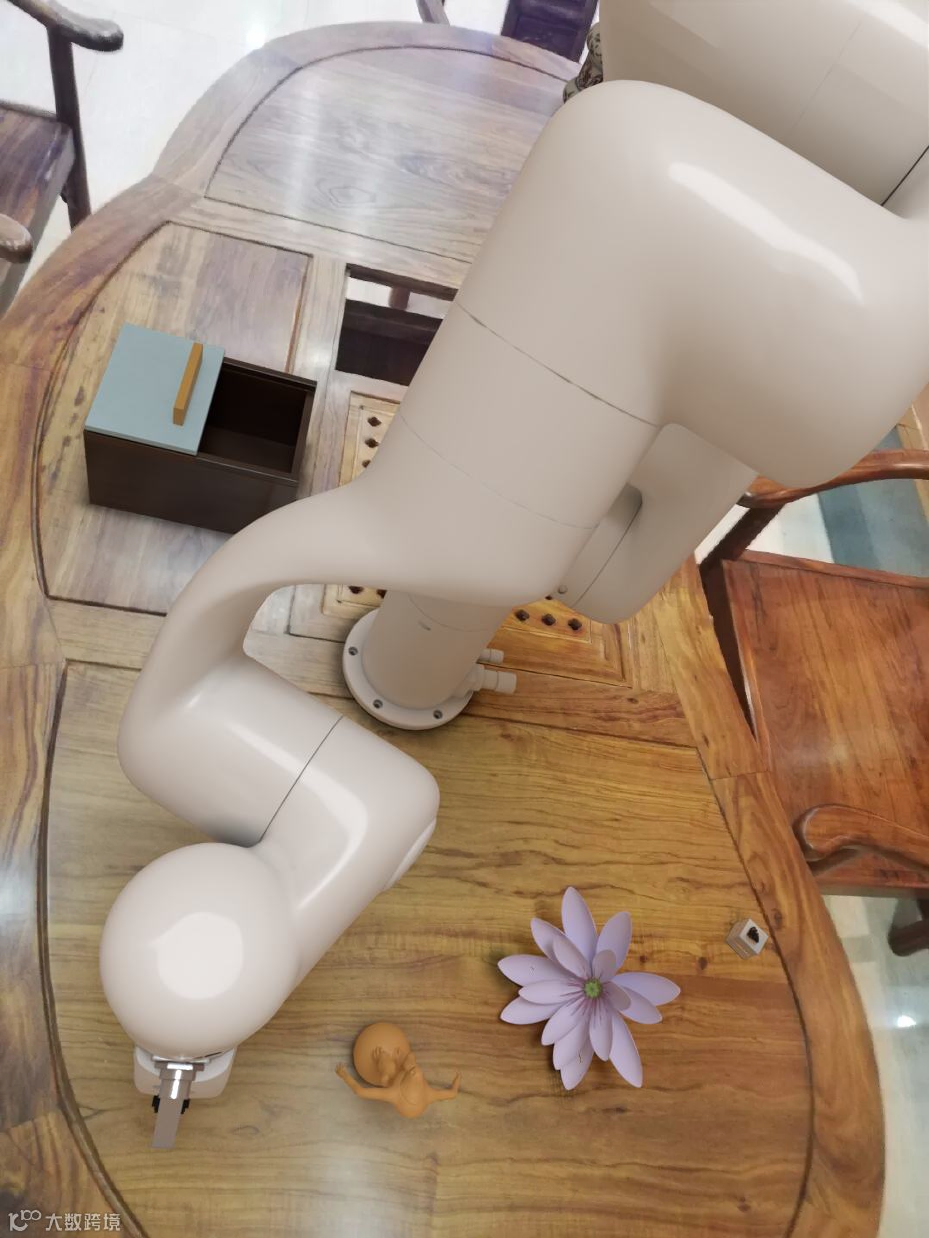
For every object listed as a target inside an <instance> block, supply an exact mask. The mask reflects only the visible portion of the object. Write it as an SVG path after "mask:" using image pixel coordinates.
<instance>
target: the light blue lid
mask: <svg viewBox="0 0 929 1238" xmlns="http://www.w3.org/2000/svg"><path fill="white" fill-rule="evenodd" d="M225 355H226V348H222V347H220V346H217V345H213V344H208V343H204V342H200V341H197V340H194V339H190V338H186V337H182V336H179V335H175V334H171V333H167V332H164V331H160V330H156V329H153V328H149V327H145V326H141V325H137V324H133V323H130V322H125V321H124V322H123V324H122V327H121V329H120V332H119V334H118V336H117V340H116V342H115V345H114V347H113V350H112V352H111V355H110V358H109V360H108V362H107V365H106V368H105V370H104V373H103V375H102V378H101V381H100V384H99V386H98V387H97V388H98V389H97V391H96V393H95V396H94V399H93V402H92V404H91V406H90V408H89V409H90V410H89V412H88V414H87V417H86V419H85V422H84V428H85V429H86V430H90V431H94V432H98V433H103V434H107V435H111V436H115V437H120V438H124V439H128V440H132V441H137V442H141V443H145V444H149V445H154V446H158V447H162V448H166V449H171V450H175V451H179V452H183V453H187V454H192V455H196V454H197V451H198V447H199V444H200V440H201V437H202V433H203V430H204V426H205V422H206V419H207V415H208V412H209V408H210V405H211V401H212V398H213V394H214V390H215V387H216V383H217V380H218V376H219V373H220V369H221V365H222V362H223V358H224V357H225Z"/></svg>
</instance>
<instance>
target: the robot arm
mask: <svg viewBox="0 0 929 1238" xmlns="http://www.w3.org/2000/svg"><path fill="white" fill-rule="evenodd" d="M598 22H599V32H600V42H601V51H602V64H603V82H602V83H599V84H597V85H594V86H591V87H589V88H586V89H584V90H582V91H581V92H579V93H578V94H576V95H575V96H573V97H572V98H570V99H569V100H568V101H567V102H566V103H565V104H564V103H563V104H562V106H560V108H559V109H558V110H556V112H554V114H553V115H552V116H551V118H550V119H549V120H548V122H547V123H546V125H545V126H544V127H543V129H542V130H541V131H540V133H539V135H538V136H537V138H536V139H535V141H534V143H533V145H532V147H531V149H530V151H529V152H528V155H527V156H526V158H525V159H524V162H523V164H522V165H521V167H520V169H519V171H518V173H517V174H516V177H515V179H514V181H513V183H512V185H511V187H510V189H509V191H508V192H507V195H506V196H505V199H504V200H503V202H502V204H501V206H500V207H499V210H498V212H497V214H496V216H495V218H494V219H493V221H492V223H491V225H490V228H489V229H488V232H487V233H486V235H485V237H484V239H483V241H482V242H481V244H480V246H479V249H478V251H477V252H476V255H475V257H474V259H473V260H472V263H471V264H470V266H469V268H468V270H467V272H466V274H465V276H464V279H463V280H462V282H461V284H460V285H459V287H458V290H457V291H456V294H455V296H454V298H453V300H452V301H451V303H450V305H449V307H448V310H447V312H446V314H445V315H444V316H443V319H442V321H441V323H440V324H439V327H438V329H437V331H436V333H435V335H434V337H433V338H432V340H431V343H430V344H429V346H428V348H427V350H426V352H425V354H424V356H423V358H422V360H421V362H420V364H419V366H418V368H417V370H416V372H415V374H414V375H413V377H412V379H411V381H410V383H409V385H408V387H407V389H406V391H405V393H404V395H403V397H402V398H401V401H400V402H399V404H398V407H397V409H396V411H395V413H394V415H393V416H392V418H391V421H390V423H389V424H388V427H387V429H386V431H385V433H384V435H383V437H382V438H381V441H380V443H379V444H378V447H377V449H376V451H375V453H374V455H373V456H372V458H371V460H370V462H369V463H368V464H367V465H366V467H365V469H363V471H362V472H361V473H360V474H359V475H358V476H357V477H356V478H353V480H351V481H349V482H348V483H345V484H343V485H341V486H337V487H335V488H331V489H328V490H326V491H325V490H324V491H322V492H319V493H317V494H313V495H310V496H307V497H304V498H301V499H298V500H296V501H295V500H294V502H293V503H290V504H288V505H286V506H283V507H281V508H279V509H277V510H274V511H272V512H270V513H268V514H267V515H265V516H263V517H261V518H259V519H257V520H256V521H254V522H253V523H251V524H250V525H248V526H247V527H245V528H244V529H242V530H241V531H239V532H238V533H237V534H233V535H232V536H231V537H230V538H229V539H228V540H227V541H226V542H224V543H223V544H222V545H221V546H220V547H219V548H217V549H216V550H215V551H213V553H212V554H211V555H210V556H209V558H208V559H206V561H205V562H204V563H203V564H202V565H201V566H200V567H199V568H198V569H197V570H196V571H195V573H194V574H193V575H192V577H190V579H189V581H188V582H187V583H186V584H185V586H184V587H183V589H182V590H181V591H180V593H179V594H178V596H177V597H176V599H175V600H174V602H173V603H172V604H171V606H170V608H169V609H168V611H167V613H166V615H165V617H164V619H163V621H162V623H161V625H160V627H159V629H158V631H157V633H156V635H155V638H154V640H153V643H152V644H151V647H150V649H149V652H148V654H147V656H146V658H145V661H144V663H143V665H142V667H141V670H140V672H139V674H138V676H137V678H136V681H135V683H134V685H133V687H132V690H131V692H130V695H129V697H128V700H127V701H126V702H127V703H126V705H125V707H124V711H123V714H122V717H121V721H120V724H119V726H118V733H117V740H116V753H117V758H118V764H119V767H120V768H121V771H122V772H123V774H124V776H125V777H126V780H128V781H129V783H130V784H131V785H132V786H133V787H134V788H135V789H136V790H137V791H139V792H140V793H141V794H143V795H144V796H145V797H147V798H148V799H150V800H151V801H152V802H154V803H155V804H157V805H158V806H160V807H161V808H162V809H164V810H165V811H167V812H168V813H170V814H171V815H173V816H175V817H177V818H178V819H179V820H181V821H183V822H184V823H186V824H188V825H189V826H191V827H193V828H194V829H195V830H197V831H198V832H200V833H202V834H204V835H205V836H207V837H209V838H210V839H212V840H214V841H215V842H200V843H196V844H195V843H194V844H191V845H185V846H183V847H179V848H176V849H173V850H171V851H169V852H167V853H164V854H162V855H160V856H159V857H157V858H155V859H154V860H152V861H150V862H149V863H148V864H146V865H145V866H144V867H142V869H140V871H138V872H137V873H136V874H135V875H133V877H132V878H131V879H130V880H129V881H128V882H127V883H126V885H125V886H123V888H122V890H121V891H120V892H119V894H118V896H117V897H116V898H115V900H114V902H113V903H112V906H111V908H110V910H109V911H108V914H107V917H106V919H105V922H104V925H103V928H102V933H101V936H100V941H99V951H98V961H99V962H98V965H99V967H98V968H99V976H100V981H101V985H102V990H103V993H104V996H105V999H106V1001H107V1003H108V1005H109V1007H110V1009H111V1011H112V1013H113V1015H114V1016H115V1018H116V1019H117V1020H118V1022H119V1024H120V1025H121V1027H122V1030H123V1031H124V1032H125V1034H126V1035H127V1037H128V1038H129V1039H130V1041H132V1043H133V1044H134V1051H133V1053H132V1054H133V1055H132V1057H133V1060H134V1061H133V1083H134V1085H135V1087H136V1089H137V1090H138V1091H139V1092H140V1093H141V1094H146V1095H151V1096H152V1101H151V1102H152V1103H151V1108H153V1113H154V1114H156V1120H155V1125H154V1130H153V1135H152V1140H151V1144H150V1145H151V1146H150V1149H161V1150H163V1149H164V1150H165V1149H166V1150H174V1148H175V1143H176V1138H177V1133H178V1129H179V1125H180V1119H181V1115H184V1113H186V1110H187V1109H188V1110H189V1107H190V1102H191V1099H211V1098H217V1097H218V1096H220V1095H221V1094H222V1093H223V1092H224V1089H225V1088H226V1085H227V1084H228V1081H229V1078H230V1075H231V1071H232V1068H233V1066H234V1062H235V1057H236V1054H237V1050H238V1046H239V1045H240V1044H241V1043H243V1042H244V1041H246V1040H247V1039H249V1038H250V1037H251V1036H253V1035H254V1034H255V1033H257V1032H258V1031H259V1030H260V1029H262V1028H263V1027H264V1026H265V1025H266V1024H267V1023H268V1022H269V1021H270V1020H271V1019H272V1018H273V1017H274V1016H275V1015H276V1014H277V1012H278V1011H279V1010H280V1009H281V1007H282V1006H283V1005H284V1003H285V1002H286V1000H287V999H288V998H289V997H290V996H291V994H292V993H293V992H294V991H295V990H296V989H297V988H298V986H299V985H300V984H301V982H303V980H304V979H305V978H306V976H308V975H309V973H310V972H311V971H312V969H313V968H314V967H315V966H316V965H317V964H318V962H319V961H321V959H322V958H323V957H324V955H325V954H326V953H327V952H328V951H329V949H330V948H332V946H333V945H334V944H335V943H336V942H337V941H338V940H339V938H340V937H341V936H342V935H343V934H344V933H345V932H346V931H347V930H348V929H349V927H350V926H351V925H352V924H353V923H354V922H355V921H356V920H357V919H358V918H359V916H360V915H361V914H362V913H363V912H364V911H365V910H366V909H367V907H368V906H369V905H370V904H371V903H372V902H373V901H374V899H375V898H376V897H377V896H378V895H379V894H381V893H385V892H386V891H388V890H389V889H391V888H392V887H393V886H395V885H396V884H397V883H398V882H400V880H401V878H402V877H404V876H405V875H406V874H407V873H408V871H409V869H410V868H411V867H412V866H413V865H414V864H415V863H416V861H417V860H418V858H419V857H420V856H421V854H422V853H423V851H424V850H425V848H426V846H427V845H428V843H429V841H430V840H431V838H432V836H433V834H434V831H435V829H436V826H437V822H438V821H437V819H438V818H437V816H438V811H439V808H440V804H441V803H440V802H441V792H440V787H439V785H438V783H437V780H436V779H435V777H434V776H433V774H432V773H431V772H430V771H429V769H427V768H426V767H425V766H424V765H423V764H421V763H420V762H419V761H417V760H416V759H415V758H414V757H412V756H410V755H409V754H407V753H405V752H404V751H403V750H401V749H400V748H398V747H396V746H395V745H393V744H391V743H390V742H388V741H386V740H385V739H383V738H382V737H380V736H378V735H377V734H375V733H373V732H372V731H371V730H369V729H367V728H366V727H364V726H362V725H361V724H359V723H357V722H356V721H354V720H353V719H351V718H349V717H348V716H347V715H344V714H343V713H342V712H339V711H338V710H337V709H335V708H333V707H332V706H331V705H329V704H327V703H325V702H324V701H322V700H320V699H319V698H317V697H315V696H314V695H312V694H311V693H309V692H307V691H306V690H304V689H303V688H301V687H299V686H298V685H297V684H295V683H293V682H291V681H290V680H289V679H287V678H286V677H284V676H282V675H281V674H279V673H277V672H276V671H275V670H273V669H272V668H270V667H268V666H267V665H266V664H263V663H262V662H260V661H258V660H257V659H256V658H253V657H252V656H250V655H248V654H247V653H246V652H245V650H244V642H245V639H246V636H247V634H248V631H249V629H250V627H251V624H252V623H253V620H254V619H255V617H256V615H257V614H258V612H259V610H260V608H262V605H264V603H265V602H266V600H267V598H269V596H271V595H272V594H273V593H274V592H276V591H277V590H280V589H282V588H287V587H292V586H302V585H336V586H347V587H358V588H359V587H360V588H368V589H375V590H383V591H386V592H385V594H384V597H383V598H382V601H381V603H380V604H379V605H380V606H379V607H378V608H375V609H373V610H371V611H369V612H368V613H366V614H364V616H362V617H361V618H360V619H359V620H358V621H357V622H356V623H355V624H354V625H353V626H352V628H351V630H350V632H349V633H348V636H347V638H346V640H345V643H344V645H343V651H342V655H341V660H342V663H341V664H342V673H343V677H344V681H345V682H346V685H347V687H348V689H349V692H350V693H351V695H352V696H353V698H354V699H355V701H356V702H357V704H359V706H360V707H361V708H363V709H364V711H366V712H367V713H368V714H369V715H371V716H372V717H374V718H375V719H377V720H378V721H380V722H383V723H384V724H387V725H389V726H391V727H395V728H398V729H403V730H410V731H411V730H412V731H420V730H421V731H422V730H430V729H434V728H437V727H440V726H443V725H445V724H447V723H448V722H450V721H451V720H454V718H455V717H457V716H458V715H459V714H460V713H461V712H462V711H463V709H464V708H465V707H466V706H467V704H468V702H469V701H470V699H471V698H472V696H473V694H474V692H479V691H481V689H485V690H490V691H491V690H492V692H496V693H497V692H498V693H503V694H508V695H513V694H514V692H515V690H516V686H517V679H518V678H517V674H516V673H513V672H509V671H503V670H493V669H492V670H491V669H487V668H485V665H484V664H481V663H477V662H479V661H480V662H484V663H485V662H486V663H487V664H491V665H496V666H501V665H502V664H503V660H504V656H505V655H504V654H505V653H504V651H503V650H501V649H495V648H487V647H488V645H489V644H490V643H491V641H492V639H493V638H494V637H495V635H496V634H497V632H498V631H499V630H500V628H501V627H502V626H503V625H504V623H505V621H507V618H508V617H509V616H510V614H511V613H512V611H513V610H514V608H515V607H522V606H527V605H532V604H535V603H537V602H540V601H542V600H543V599H545V598H547V597H551V598H552V599H554V600H556V601H557V602H559V603H561V604H562V605H564V606H565V607H567V608H568V609H571V610H572V611H574V612H575V613H578V614H579V615H581V616H583V617H584V618H587V619H589V620H590V621H593V622H595V623H599V624H603V625H617V624H622V623H623V622H626V621H628V620H630V619H632V618H633V617H634V616H635V615H637V614H638V613H639V612H641V610H643V609H644V608H645V607H646V606H647V605H648V604H649V603H650V602H651V601H652V600H653V598H654V597H656V595H657V594H658V593H659V592H660V591H662V589H663V588H664V586H666V584H667V583H668V582H669V581H670V580H671V578H672V577H673V576H674V575H675V574H676V573H677V572H678V570H679V569H680V568H681V567H682V566H683V565H684V564H685V562H686V561H687V560H688V559H689V558H690V557H691V556H692V554H693V553H694V552H695V551H696V550H697V548H698V547H699V546H701V544H702V543H703V542H704V541H705V540H706V539H707V538H708V536H709V535H710V534H711V533H712V531H713V530H714V529H716V527H717V526H718V525H719V524H720V522H721V521H722V520H723V519H724V518H725V517H726V516H727V514H729V513H730V511H731V510H732V508H734V507H735V506H736V504H737V503H738V502H739V501H740V500H741V498H742V497H743V496H744V495H745V493H747V491H748V490H749V488H750V487H751V486H752V484H753V483H754V482H755V481H756V479H757V478H758V477H759V475H761V476H763V477H764V478H766V479H768V480H770V481H772V482H773V483H776V484H778V485H780V486H782V487H787V488H791V489H810V488H815V487H817V486H821V485H823V484H827V483H829V482H830V481H832V480H834V479H836V478H838V477H840V476H841V475H843V474H844V473H846V472H847V471H850V470H851V469H852V468H854V466H856V465H857V464H858V463H859V462H861V460H863V459H864V458H865V457H866V456H867V455H868V454H870V453H871V452H872V451H873V450H875V448H876V447H878V445H879V444H880V443H881V442H882V441H883V440H884V439H885V438H886V437H887V435H889V433H890V432H891V431H892V430H893V429H894V428H895V426H897V424H899V422H900V421H901V420H902V419H903V418H904V417H905V415H906V414H907V412H908V411H909V410H910V408H911V407H912V406H913V404H914V403H915V402H916V400H917V399H918V398H919V396H920V395H921V393H922V392H923V391H924V390H925V388H926V387H927V385H928V384H929V0H599V2H598Z"/></svg>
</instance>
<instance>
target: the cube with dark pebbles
mask: <svg viewBox="0 0 929 1238" xmlns="http://www.w3.org/2000/svg"><path fill="white" fill-rule="evenodd" d="M741 921H742V922H741ZM740 923H741V924H740ZM739 925H740V926H739ZM737 928H738V929H737ZM736 930H737V931H736ZM734 933H735V935H734ZM733 935H734V936H733ZM731 938H732V939H733V940H734V941H735V942H736V943H737V944H738V945H740V947H742V949H743V950H745V952H747V953H748V955H750V956H751V957H749V956H748V955H747V954H746V953H745V952H744V951H743V950H742V949H741V948H740V947H739V946H738V945H737V944H736V943H735V942H734V941H733V940H732V939H731ZM768 938H769V935H768V934H767V933H766V932H765V931H764V930H762V929H761V928H760V927H759V925H757V924H756V923H755V922H754V921H753V920H752V918H747V919H743V920H740V921H737V922H735V923H734V925H733V926H732V928H731V929H730V931H729V933H728V935H727V937H726V938H725V940H724V942H725V943H726V944H727V945H728V946H729V947H730V948H731V949H732V950H733V951H734V952H735V953H736V954H738V956H740V957H741V958H742V959H743V960H744V959H745V960H746V959H748V958H752V957H755V956H759V955H760V953H761V951H762V949H763V947H764V946H765V943H766V942H767V940H768Z"/></svg>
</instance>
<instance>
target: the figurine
mask: <svg viewBox="0 0 929 1238" xmlns="http://www.w3.org/2000/svg"><path fill="white" fill-rule="evenodd" d="M352 1055H353V1063H354V1066H355V1069H356V1071H357V1073H358V1074H359V1076H360V1077H361V1078H362V1079H363V1080H364V1081H366V1082H367V1083H369V1084H372V1085H374V1086H382V1087H363V1086H362V1085H361V1084H360V1083H358V1082H357V1081H356V1080H355V1078H354V1077H353V1076H352V1075H350V1074H348V1073H347V1072H346V1067H347V1063H346V1062H345V1063H344V1065H342V1062H341V1061H340V1062H339V1065H338V1064H337V1065H336V1069H335V1070H334V1071H335V1074H336V1075H337V1076H338V1077H340V1078H342V1079H343V1081H344V1083H345V1084H346V1085H347V1086H348V1087H349V1088H350V1089H351V1090H352V1091H353V1093H354V1094H355V1095H356V1096H357V1097H359V1098H364V1099H370V1100H377V1101H378V1100H379V1101H384V1102H387V1103H390V1104H392V1106H393V1108H394V1109H395V1110H396V1112H397V1113H398V1114H399V1115H400V1116H401V1117H403V1118H405V1119H407V1120H408V1119H409V1120H413V1119H416V1118H419V1117H420V1116H421V1115H422V1114H423V1113H424V1112H425V1111H426V1109H427V1107H428V1106H429V1105H430V1104H434V1103H436V1102H442V1101H449V1100H453V1099H456V1098H457V1096H458V1093H459V1088H460V1085H461V1083H462V1078H463V1077H462V1073H461V1071H460V1068H459V1067H458V1066H457V1065H454V1066H453V1070H454V1071H455V1073H456V1076H455V1077H454V1079H453V1080H452V1085H451V1087H450V1089H448V1088H433V1087H432V1086H431V1085H430V1084H429V1082H428V1080H427V1079H426V1078H425V1076H424V1072H423V1071H422V1070H423V1069H422V1068H421V1067H419V1065H418V1063H417V1060H416V1054H415V1053H414V1052H413V1051H411V1046H410V1042H409V1039H408V1037H407V1035H406V1034H405V1032H404V1030H403V1029H401V1028H400V1027H399V1026H398V1025H396V1024H394V1023H392V1022H388V1021H379V1022H374V1023H372V1024H370V1025H368V1026H367V1027H365V1029H363V1030H362V1031H361V1032H360V1034H359V1035H358V1037H357V1038H356V1041H355V1043H354V1047H353V1054H352Z"/></svg>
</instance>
